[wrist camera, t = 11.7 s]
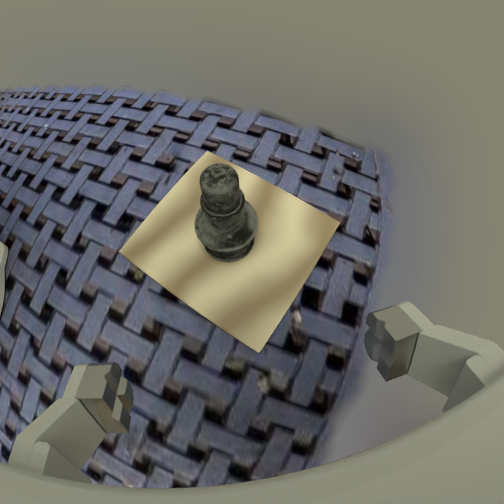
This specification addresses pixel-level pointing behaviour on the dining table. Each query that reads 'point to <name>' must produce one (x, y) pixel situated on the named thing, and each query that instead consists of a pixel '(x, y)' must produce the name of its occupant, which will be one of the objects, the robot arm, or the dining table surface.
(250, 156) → the dining table surface
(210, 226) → the weathered chess pawn
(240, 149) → the dining table surface
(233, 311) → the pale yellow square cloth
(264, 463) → the dining table surface
